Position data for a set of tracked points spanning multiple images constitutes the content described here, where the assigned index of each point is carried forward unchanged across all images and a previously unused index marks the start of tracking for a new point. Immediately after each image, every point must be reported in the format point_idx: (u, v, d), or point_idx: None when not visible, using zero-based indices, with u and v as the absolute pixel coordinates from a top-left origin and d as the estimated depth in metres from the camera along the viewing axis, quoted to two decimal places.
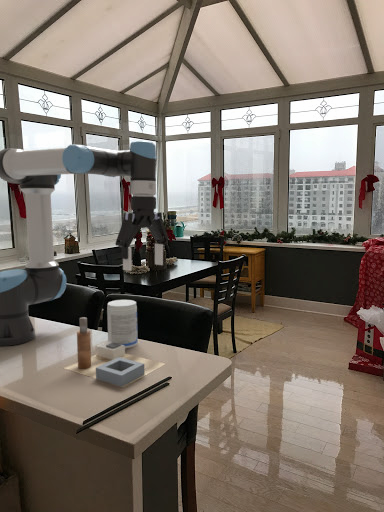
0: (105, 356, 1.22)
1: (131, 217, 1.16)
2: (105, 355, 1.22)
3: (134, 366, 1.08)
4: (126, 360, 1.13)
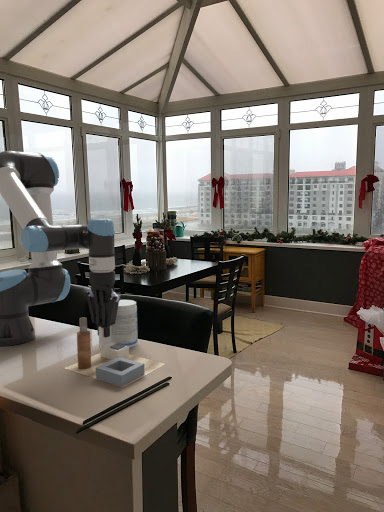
0: (110, 357, 1.21)
1: (87, 295, 1.25)
2: (109, 356, 1.21)
3: (134, 366, 1.08)
4: (126, 360, 1.13)
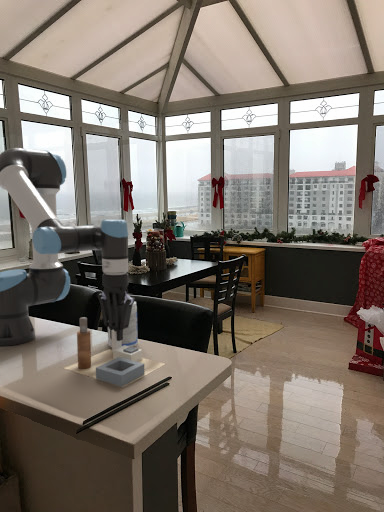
0: None
1: (100, 298, 1.23)
2: None
3: (134, 366, 1.08)
4: (126, 360, 1.13)
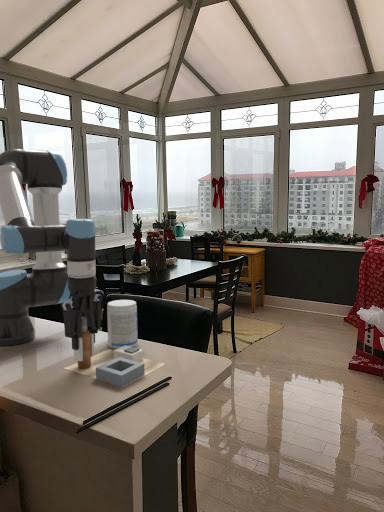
0: None
1: (70, 307, 1.08)
2: None
3: (134, 366, 1.08)
4: (126, 360, 1.13)
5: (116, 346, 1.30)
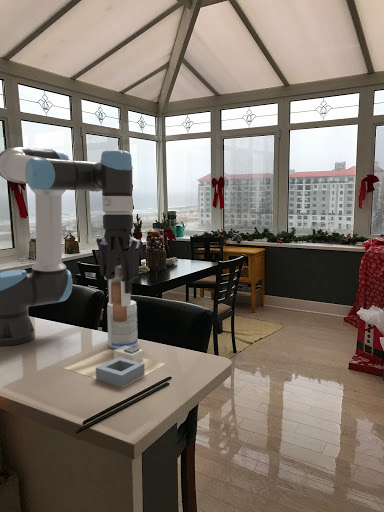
0: None
1: (99, 242, 1.07)
2: None
3: (134, 366, 1.08)
4: (126, 360, 1.13)
5: (116, 346, 1.30)
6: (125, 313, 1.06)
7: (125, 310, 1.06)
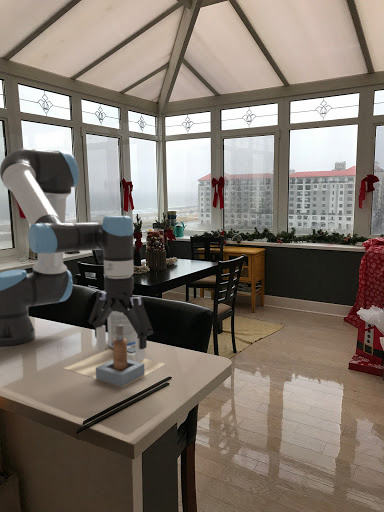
0: None
1: (98, 296, 1.09)
2: None
3: (134, 366, 1.08)
4: None
5: None
6: None
7: (125, 367, 1.08)
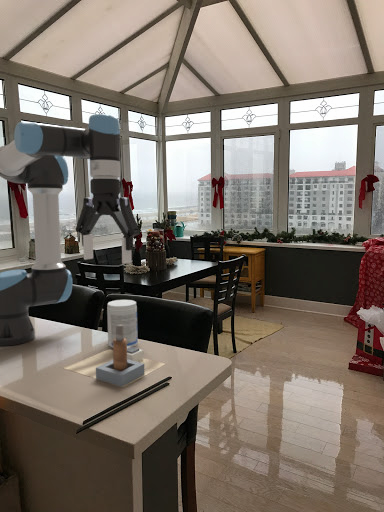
0: None
1: (85, 202, 1.08)
2: None
3: (134, 366, 1.08)
4: None
5: None
6: None
7: (125, 367, 1.08)
